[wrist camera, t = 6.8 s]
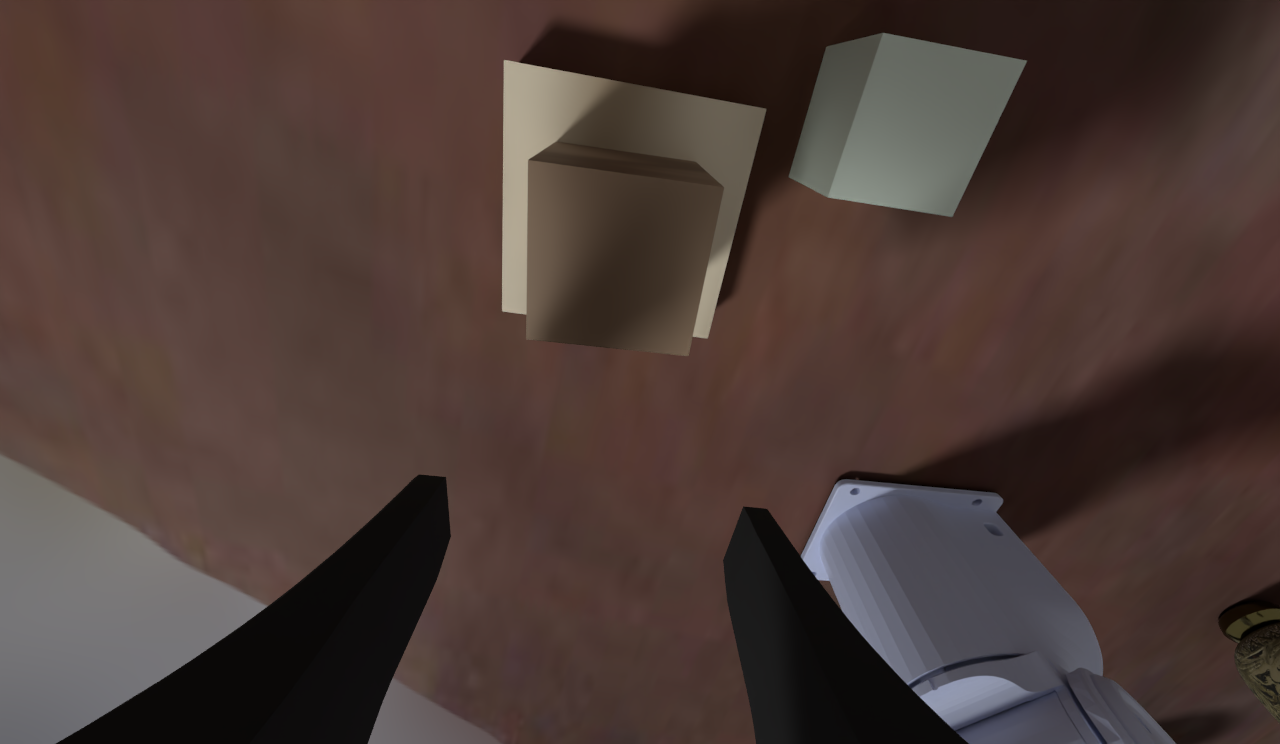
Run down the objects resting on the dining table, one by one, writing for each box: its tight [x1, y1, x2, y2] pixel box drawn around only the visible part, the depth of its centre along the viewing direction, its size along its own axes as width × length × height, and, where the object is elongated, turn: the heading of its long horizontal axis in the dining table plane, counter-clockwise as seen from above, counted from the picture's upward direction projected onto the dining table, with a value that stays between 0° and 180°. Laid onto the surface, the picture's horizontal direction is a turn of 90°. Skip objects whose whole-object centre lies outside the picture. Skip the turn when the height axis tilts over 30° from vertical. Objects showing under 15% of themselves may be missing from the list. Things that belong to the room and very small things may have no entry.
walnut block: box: [526, 142, 724, 356], centre depth 14 cm, size 4×4×5 cm
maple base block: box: [502, 60, 767, 338], centre depth 17 cm, size 8×8×2 cm
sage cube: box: [789, 33, 1027, 217], centre depth 15 cm, size 4×4×4 cm
